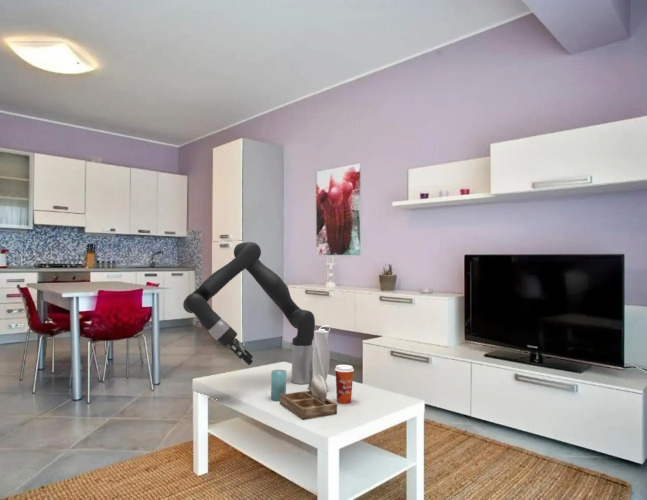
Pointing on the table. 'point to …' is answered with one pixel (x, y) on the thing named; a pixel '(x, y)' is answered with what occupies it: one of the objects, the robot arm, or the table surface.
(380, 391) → the table surface
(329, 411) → the tray
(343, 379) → the paper cup
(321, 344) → the skyscraper
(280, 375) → the teal dome-topped cylinder
